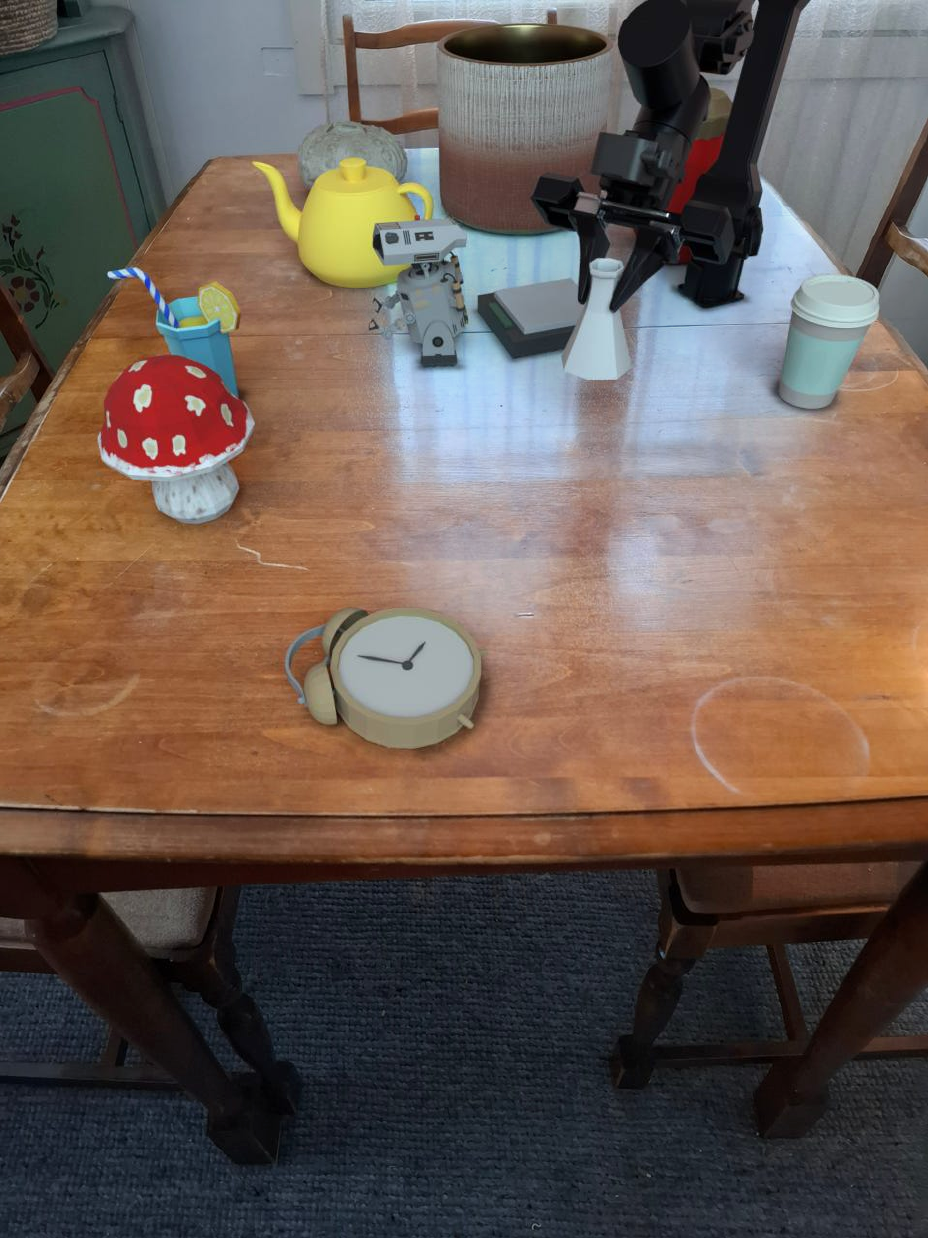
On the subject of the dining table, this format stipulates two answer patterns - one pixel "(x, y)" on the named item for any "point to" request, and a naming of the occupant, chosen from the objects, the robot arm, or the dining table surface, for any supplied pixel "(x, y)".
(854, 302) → the coffee cup
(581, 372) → the grey faceted vase
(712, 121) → the bottle
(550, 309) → the kitchen scale
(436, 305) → the figurine
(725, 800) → the dining table surface
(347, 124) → the decorative shell
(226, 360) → the cup
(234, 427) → the decorative mushroom
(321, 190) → the teapot
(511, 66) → the planter
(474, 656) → the alarm clock
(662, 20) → the robot arm
